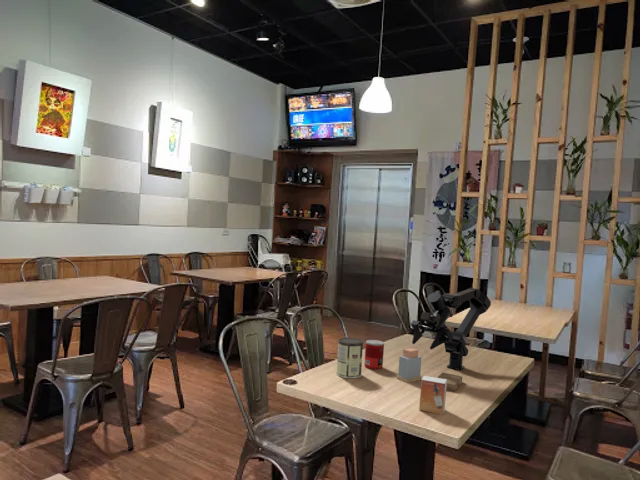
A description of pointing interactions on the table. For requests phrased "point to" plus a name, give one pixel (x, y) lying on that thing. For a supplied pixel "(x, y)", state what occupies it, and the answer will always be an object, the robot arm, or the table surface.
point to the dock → (451, 380)
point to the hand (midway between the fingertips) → (421, 346)
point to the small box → (433, 395)
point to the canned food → (374, 354)
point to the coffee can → (349, 357)
